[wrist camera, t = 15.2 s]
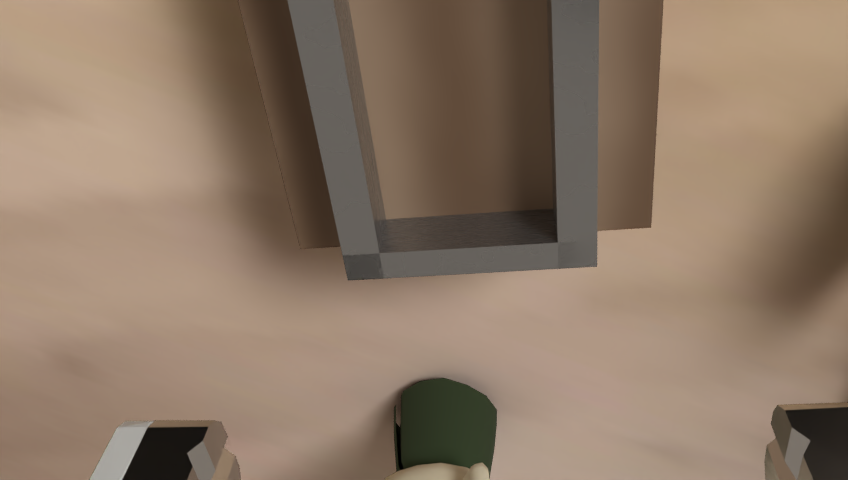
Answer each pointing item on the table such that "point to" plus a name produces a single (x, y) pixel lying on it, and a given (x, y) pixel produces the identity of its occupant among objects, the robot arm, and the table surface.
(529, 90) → the hinge cabinet
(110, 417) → the table surface
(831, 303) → the table surface
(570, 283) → the table surface
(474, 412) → the character mug
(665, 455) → the table surface
